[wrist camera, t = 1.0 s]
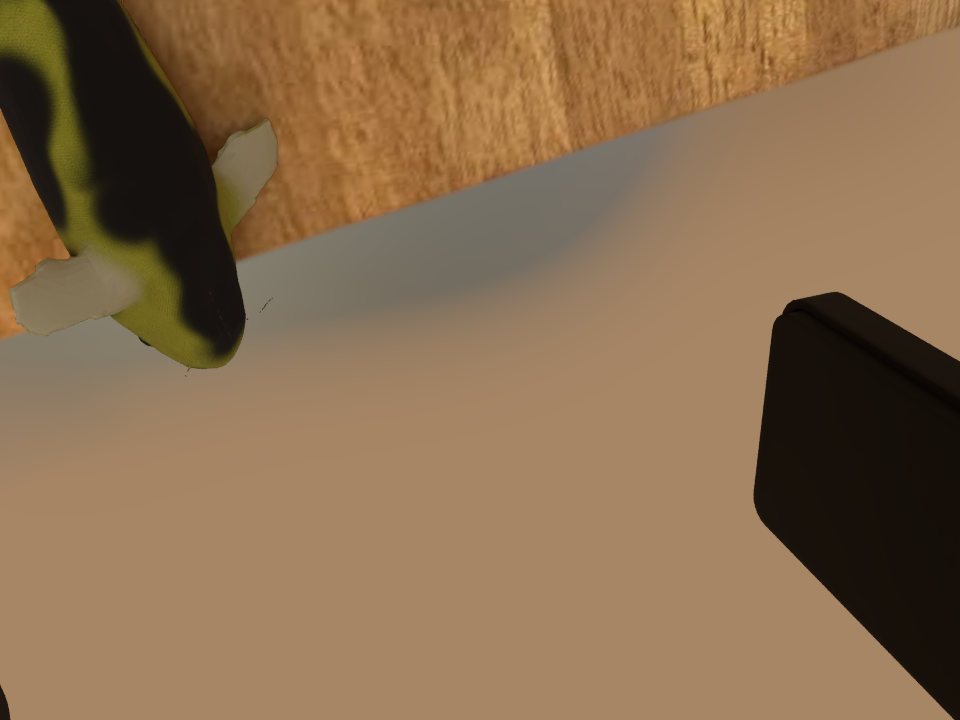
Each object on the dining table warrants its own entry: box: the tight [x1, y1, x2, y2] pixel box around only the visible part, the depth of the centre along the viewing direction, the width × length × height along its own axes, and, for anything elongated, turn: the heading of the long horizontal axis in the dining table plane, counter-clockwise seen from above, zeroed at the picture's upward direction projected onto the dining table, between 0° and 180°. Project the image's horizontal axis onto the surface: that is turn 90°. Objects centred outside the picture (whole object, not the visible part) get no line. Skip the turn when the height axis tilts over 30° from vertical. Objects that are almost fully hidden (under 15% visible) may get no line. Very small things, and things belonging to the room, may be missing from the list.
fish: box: [0, 0, 278, 370], centre depth 24 cm, size 11×24×10 cm
